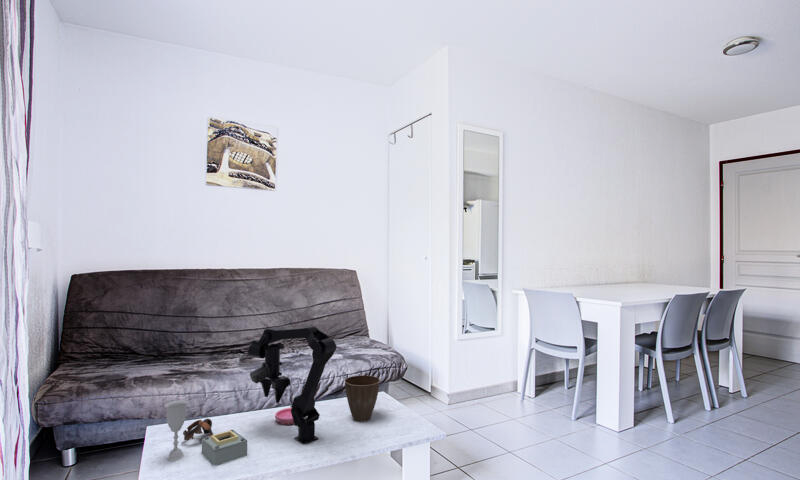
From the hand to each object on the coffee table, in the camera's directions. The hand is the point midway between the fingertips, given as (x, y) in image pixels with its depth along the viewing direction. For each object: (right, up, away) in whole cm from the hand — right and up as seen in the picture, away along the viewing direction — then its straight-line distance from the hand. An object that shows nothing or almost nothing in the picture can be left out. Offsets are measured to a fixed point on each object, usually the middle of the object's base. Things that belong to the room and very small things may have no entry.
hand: (271, 399), depth 168 cm
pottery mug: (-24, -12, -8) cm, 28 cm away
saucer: (+5, -13, +11) cm, 17 cm away
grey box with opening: (-10, -11, -20) cm, 25 cm away
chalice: (-26, -11, -22) cm, 36 cm away
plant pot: (+34, -13, +13) cm, 39 cm away
